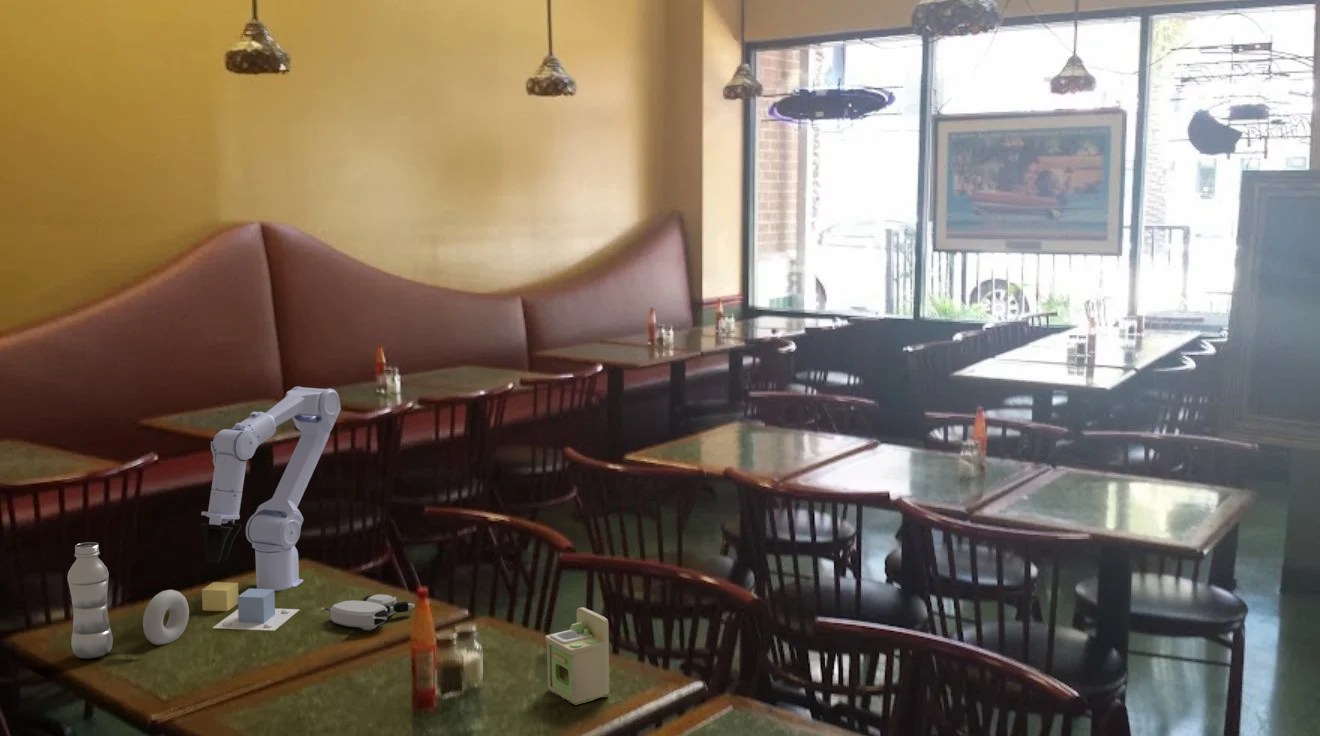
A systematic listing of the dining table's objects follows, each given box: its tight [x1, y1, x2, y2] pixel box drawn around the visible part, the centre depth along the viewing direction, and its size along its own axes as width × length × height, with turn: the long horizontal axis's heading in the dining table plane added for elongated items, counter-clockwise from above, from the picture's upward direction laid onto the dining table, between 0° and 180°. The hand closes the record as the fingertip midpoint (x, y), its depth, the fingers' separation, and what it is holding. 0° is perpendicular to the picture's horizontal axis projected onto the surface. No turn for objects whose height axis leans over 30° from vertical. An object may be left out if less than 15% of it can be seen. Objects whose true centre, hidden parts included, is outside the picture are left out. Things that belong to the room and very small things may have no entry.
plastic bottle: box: [67, 542, 114, 659], centre depth 207 cm, size 6×7×20 cm
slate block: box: [237, 588, 276, 623], centre depth 225 cm, size 5×5×5 cm
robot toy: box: [320, 593, 416, 631], centre depth 227 cm, size 12×4×15 cm
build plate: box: [212, 607, 300, 632], centre depth 226 cm, size 12×12×1 cm
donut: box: [142, 589, 190, 646], centre depth 213 cm, size 10×3×10 cm, turn 161°
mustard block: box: [201, 581, 240, 612], centre depth 232 cm, size 5×5×5 cm
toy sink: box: [544, 606, 610, 703], centre depth 192 cm, size 8×7×13 cm
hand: (216, 561), depth 230 cm, fingers open, 7 cm apart
